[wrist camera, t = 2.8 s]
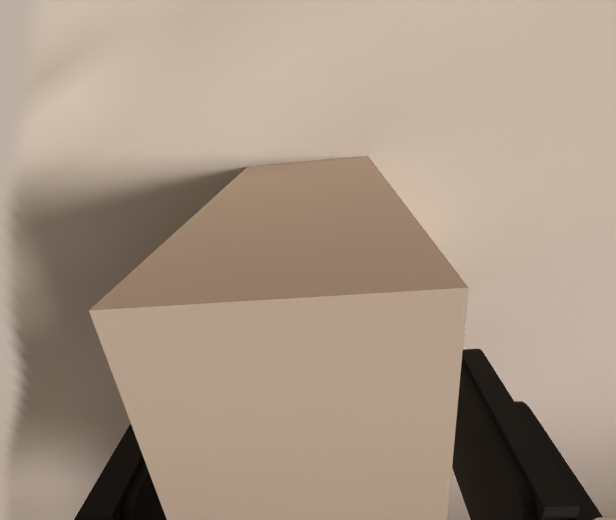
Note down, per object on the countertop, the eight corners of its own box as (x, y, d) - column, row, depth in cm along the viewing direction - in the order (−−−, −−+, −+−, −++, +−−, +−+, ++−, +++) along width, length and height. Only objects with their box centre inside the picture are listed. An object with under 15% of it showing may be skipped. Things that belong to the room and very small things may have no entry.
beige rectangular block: (367, 155, 9) (468, 287, 3) (376, 484, 14) (421, 813, 8) (248, 165, 9) (88, 310, 3) (296, 486, 14) (274, 808, 8)
